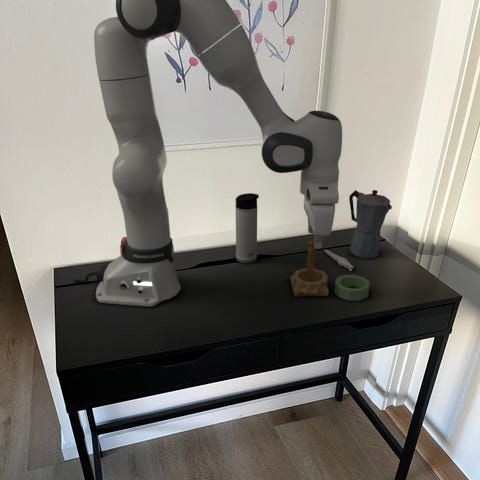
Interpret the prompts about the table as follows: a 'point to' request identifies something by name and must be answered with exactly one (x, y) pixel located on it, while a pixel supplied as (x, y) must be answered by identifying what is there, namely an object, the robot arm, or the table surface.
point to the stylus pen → (340, 260)
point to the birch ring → (310, 286)
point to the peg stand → (309, 272)
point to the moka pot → (368, 223)
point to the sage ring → (354, 293)
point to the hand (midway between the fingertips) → (314, 239)
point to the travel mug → (246, 227)
